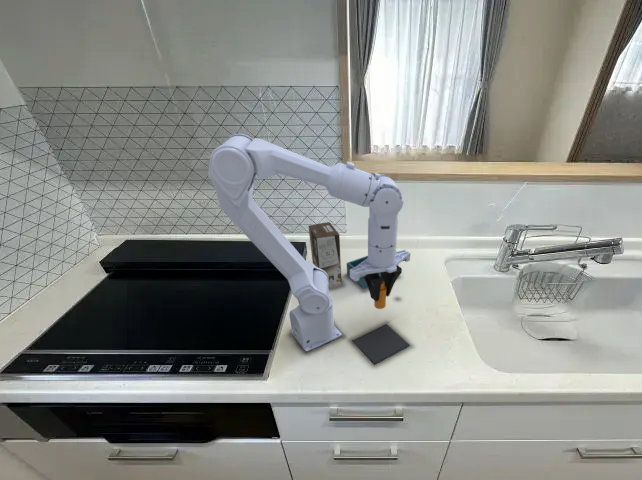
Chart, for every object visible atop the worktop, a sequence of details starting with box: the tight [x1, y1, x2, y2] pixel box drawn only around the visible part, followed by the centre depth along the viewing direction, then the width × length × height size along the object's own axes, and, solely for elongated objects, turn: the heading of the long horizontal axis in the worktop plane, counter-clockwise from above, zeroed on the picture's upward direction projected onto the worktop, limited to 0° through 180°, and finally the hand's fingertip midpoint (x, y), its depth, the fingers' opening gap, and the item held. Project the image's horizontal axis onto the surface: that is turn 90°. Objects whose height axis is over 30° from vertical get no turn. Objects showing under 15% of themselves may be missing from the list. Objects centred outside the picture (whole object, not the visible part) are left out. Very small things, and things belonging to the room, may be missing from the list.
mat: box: [351, 323, 411, 366], centre depth 74 cm, size 10×9×1 cm
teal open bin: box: [346, 255, 381, 290], centre depth 95 cm, size 12×9×5 cm
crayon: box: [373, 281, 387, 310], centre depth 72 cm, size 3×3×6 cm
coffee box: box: [307, 221, 343, 288], centre depth 90 cm, size 9×6×16 cm
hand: (380, 296), depth 72 cm, fingers closed on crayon, 2 cm apart
